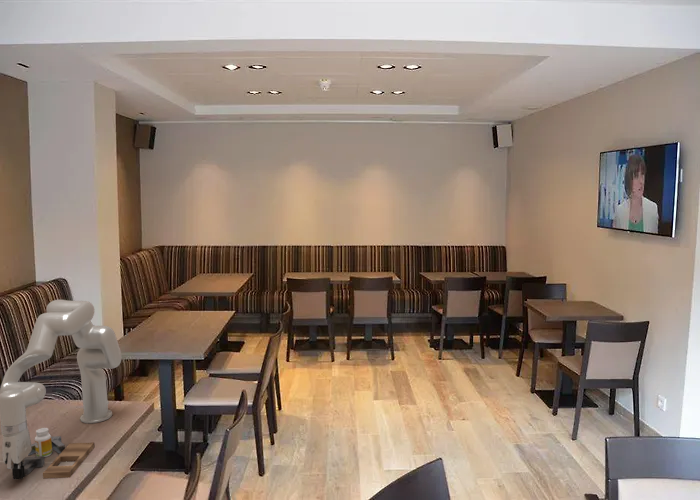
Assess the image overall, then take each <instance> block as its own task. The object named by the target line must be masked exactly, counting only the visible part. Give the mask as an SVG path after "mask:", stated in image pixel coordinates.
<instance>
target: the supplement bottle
mask: <svg viewBox="0 0 700 500" xmlns="http://www.w3.org/2000/svg"><path fill="white" fill-rule="evenodd" d="M35 435H36V436H35V437H34V443H35V448H36V453H35V457H39V456H44V458H48V457H50V456H51V455H52V454H53V449H52V441H51V437H52V435H51V434H50V432H49V428H48V427H42V428H38V429H36V430H35Z"/></svg>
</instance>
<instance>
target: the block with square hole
mask: <svg viewBox="0 0 700 500" xmlns="http://www.w3.org/2000/svg"><path fill="white" fill-rule="evenodd" d="M94 448H95V442H94V441H93V442H72V443H71V442H70V443H68V444H67V446H65V449H64V450H63V451H62V452H61V454H59V455H58V456H56V458H55V459H53V461H52V462H51V463H50V465H49V466H48V467H47V468H46V469H44V471H43V472H42V478H43V479H63V478H65V479H66V478H72V476H73V474H74V473H76V471H77V470H78V468H79V467H80V466H81V465H82V463H83V462H84V461H85V460H86V459H87V457H88V456H89V455H90V453H91V452H92V451H93V450H94ZM66 461H67V462H69V463H70V462H74V463H73V464H72V465H60V463H62V462H63V463H66Z"/></svg>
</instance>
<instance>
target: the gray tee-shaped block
mask: <svg viewBox="0 0 700 500" xmlns="http://www.w3.org/2000/svg"><path fill="white" fill-rule="evenodd" d="M23 466H24V470H25V476H27V475H29V474H30V473H31V472H32V471H33V470H34V469H35V468H42V467H44V466H45V457H44V456H39V457H37V456H26V457H25V464H24V465H23Z"/></svg>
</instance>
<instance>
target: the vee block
mask: <svg viewBox="0 0 700 500" xmlns="http://www.w3.org/2000/svg"><path fill="white" fill-rule="evenodd" d="M51 441H52V451H53V450H54V452H56V453H58V454H59V455H60V454H61V452H62V451H63V450H64V449H65V448H66V444H65V443H63V442H62V436H61V435H60V436H58V435H57V436H55V435H53V436H51ZM31 448H32V450H31V452H30V453H29V454H28V455H27V457H30V456H31V455H34V454H35V455H36V448H35V442H34V443H31Z"/></svg>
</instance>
